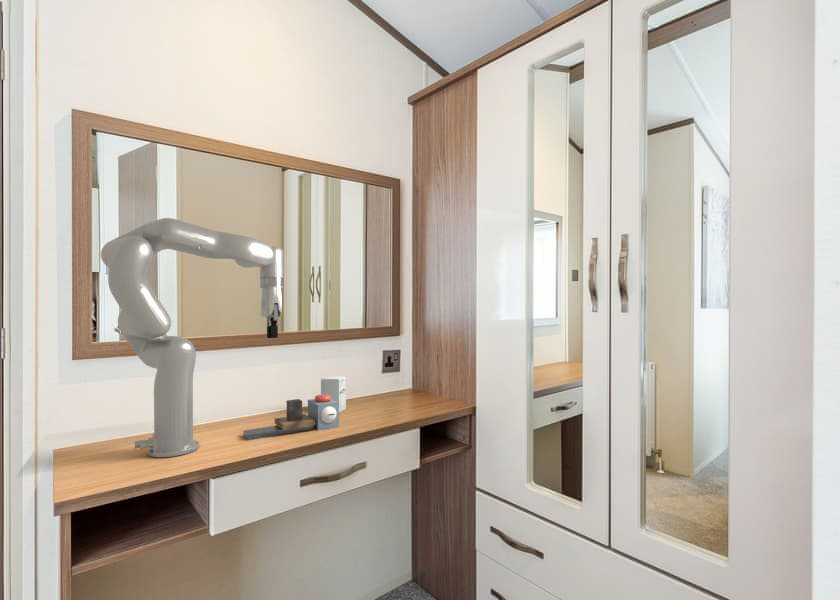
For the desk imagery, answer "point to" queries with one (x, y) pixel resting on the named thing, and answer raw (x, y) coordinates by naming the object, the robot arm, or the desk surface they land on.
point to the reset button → (322, 398)
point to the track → (271, 432)
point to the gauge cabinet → (324, 414)
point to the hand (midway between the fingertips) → (272, 337)
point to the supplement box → (335, 389)
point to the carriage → (294, 416)
